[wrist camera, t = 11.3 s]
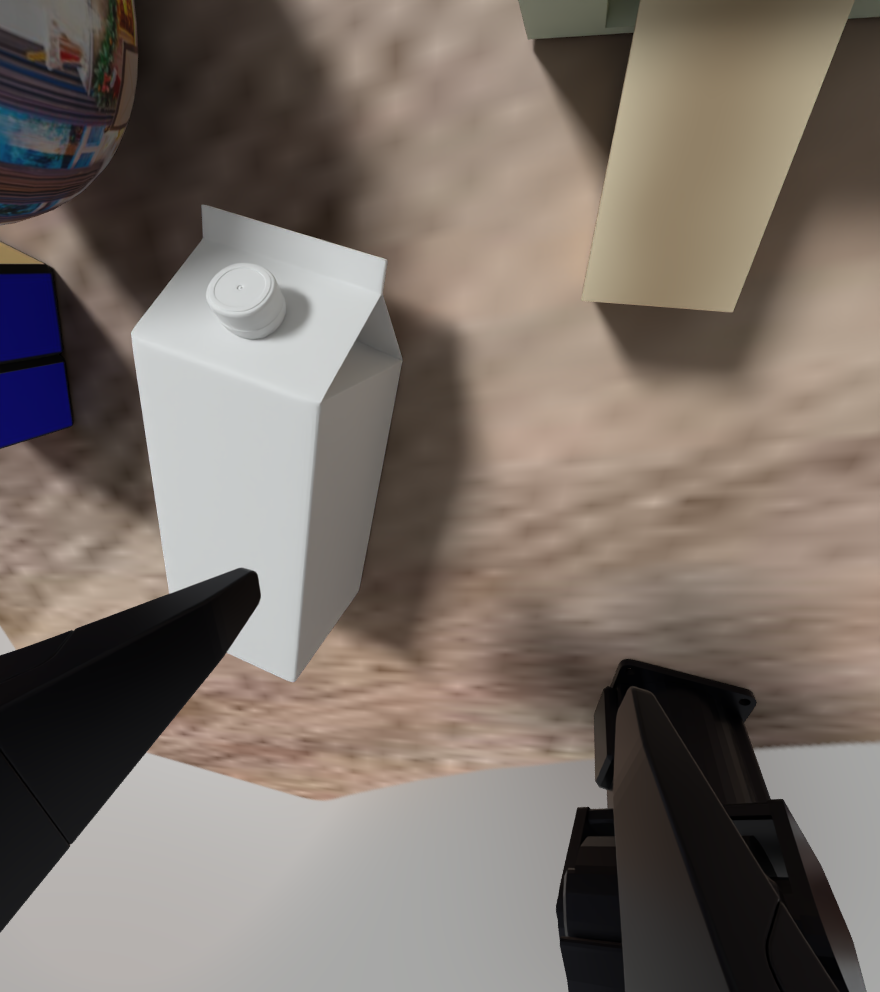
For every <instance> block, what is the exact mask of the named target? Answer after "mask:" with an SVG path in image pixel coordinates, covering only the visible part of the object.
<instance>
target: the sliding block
mask: <svg viewBox="0 0 880 992" xmlns="http://www.w3.org/2000/svg"><path fill="white" fill-rule="evenodd" d="M518 1H519V5H520V9H521V13H522V17H523V21H524V26H525V30H526V34H527V38H528V39H542V38H558V37H573V36H589V35H604V34H620V33H634V28H635V23H636V18H637V13H638V8H639V2H640V0H518ZM868 17H880V0H855V1H854V4H853V6H852V9H851V12H850V14H849V17H848V19H852V18H868Z"/></svg>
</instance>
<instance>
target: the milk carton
mask: <svg viewBox="0 0 880 992" xmlns="http://www.w3.org/2000/svg"><path fill="white" fill-rule="evenodd" d="M201 209H202V227H203V239H202V240H201V242H200V243H199V244H198V246H197V247H196V248H195V249H194V251H193V252H192V253H191V255H190V256H189V257H188V258H187V260H186V261H185V262H184V264H183V265H182V266H181V268H180V269H179V270H178V271H177V273H176V274H175V275H174V277H173V278H172V279H171V280H170V282H169V283H168V284H167V286H166V287H165V288H164V290H163V291H162V292H161V293H160V295H159V296H158V297H157V299H156V300H155V301H154V302H153V304H152V305H151V306H150V308H149V309H148V310H147V312H146V313H145V314H144V315H143V317H142V318H141V319H140V321H139V322H138V323H137V325H136V326H135V327H134V329H133V330H132V332H131V336H132V346H133V353H134V360H135V367H136V374H137V381H138V387H139V394H140V401H141V407H142V414H143V421H144V428H145V434H146V441H147V448H148V454H149V461H150V468H151V474H152V481H153V488H154V494H155V501H156V508H157V515H158V521H159V528H160V535H161V541H162V548H163V555H164V561H165V568H166V575H167V581H168V588H169V594H170V593H173V592H175V591H178V590H181V589H184V588H186V587H189V586H192V585H194V584H197V583H200V582H202V581H205V580H208V579H210V578H213V577H216V576H218V575H221V574H224V573H226V572H229V571H232V570H234V569H237V568H241V567H242V568H247V569H250V570H253V571H255V572H256V573H257V574H258V578H259V585H260V591H261V599H260V602H259V604H258V606H257V608H256V609H255V611H254V612H253V614H252V615H251V617H250V618H249V620H248V621H247V623H246V624H245V626H244V627H243V629H242V630H241V632H240V633H239V635H238V636H237V638H236V639H235V641H234V642H233V644H232V645H231V647H230V648H229V650H228V651H227V653H228V654H231V655H233V656H235V657H237V658H239V659H241V660H244V661H246V662H248V663H250V664H252V665H254V666H257V667H259V668H261V669H263V670H265V671H267V672H270V673H272V674H274V675H276V676H278V677H280V678H283V679H285V680H287V681H290V682H295V681H296V680H297V678H298V677H299V676H300V674H301V673H302V671H303V670H304V668H305V667H306V666H307V664H308V663H309V661H310V660H311V658H312V657H313V656H314V654H315V653H316V651H317V650H318V648H319V647H320V646H321V644H322V643H323V641H324V640H325V638H326V637H327V636H328V634H329V633H330V631H331V630H332V629H333V627H334V626H335V624H336V623H337V621H338V620H339V619H340V617H341V616H342V614H343V613H344V611H345V610H346V609H347V607H348V606H349V604H350V603H351V601H352V600H353V599H354V597H355V596H356V594H357V593H358V591H359V588H360V583H361V578H362V572H363V567H364V562H365V556H366V551H367V546H368V541H369V535H370V530H371V525H372V519H373V514H374V509H375V503H376V498H377V493H378V488H379V482H380V477H381V472H382V466H383V461H384V456H385V450H386V445H387V440H388V435H389V429H390V424H391V419H392V413H393V408H394V403H395V398H396V392H397V387H398V382H399V376H400V371H401V366H402V361H403V359H402V356H401V352H400V349H399V346H398V343H397V339H396V336H395V333H394V329H393V326H392V323H391V320H390V316H389V313H388V310H387V307H386V303H385V300H384V297H383V289H384V283H385V276H386V269H387V262H388V261H387V259H384V258H381V257H378V256H374V255H371V254H368V253H364V252H361V251H358V250H354V249H351V248H348V247H344V246H341V245H338V244H334V243H331V242H328V241H324V240H321V239H318V238H314V237H311V236H308V235H304V234H301V233H298V232H294V231H291V230H288V229H285V228H281V227H278V226H275V225H271V224H268V223H265V222H261V221H258V220H255V219H251V218H248V217H245V216H241V215H238V214H235V213H231V212H228V211H225V210H221V209H218V208H215V207H211V206H208V205H201Z"/></svg>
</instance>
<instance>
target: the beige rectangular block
mask: <svg viewBox="0 0 880 992" xmlns="http://www.w3.org/2000/svg"><path fill="white" fill-rule="evenodd" d="M854 1H855V0H640V2H639V8H638V13H637V18H636V23H635V28H634V33H633V38H632V43H631V48H630V53H629V58H628V63H627V68H626V73H625V78H624V83H623V89H622V94H621V99H620V104H619V109H618V114H617V119H616V124H615V129H614V134H613V139H612V144H611V149H610V154H609V159H608V164H607V170H606V175H605V180H604V185H603V190H602V195H601V200H600V205H599V210H598V215H597V220H596V225H595V230H594V235H593V240H592V246H591V251H590V256H589V261H588V266H587V271H586V276H585V281H584V287H583V293H582V299H581V301H591V302H604V303H617V304H630V305H643V306H656V307H669V308H682V309H694V310H707V311H720V312H733V310H734V308H735V305H736V303H737V300H738V298H739V295H740V293H741V290H742V287H743V285H744V282H745V280H746V277H747V275H748V272H749V270H750V267H751V264H752V262H753V259H754V257H755V254H756V252H757V249H758V247H759V244H760V241H761V239H762V236H763V234H764V231H765V229H766V226H767V224H768V221H769V218H770V216H771V213H772V211H773V208H774V206H775V203H776V201H777V198H778V195H779V193H780V190H781V188H782V185H783V183H784V180H785V178H786V175H787V173H788V170H789V167H790V165H791V162H792V160H793V157H794V155H795V152H796V150H797V147H798V144H799V142H800V139H801V137H802V134H803V132H804V129H805V127H806V124H807V121H808V119H809V116H810V114H811V111H812V109H813V106H814V104H815V101H816V98H817V96H818V93H819V91H820V88H821V86H822V83H823V81H824V78H825V75H826V73H827V70H828V68H829V65H830V63H831V60H832V58H833V55H834V52H835V50H836V47H837V45H838V42H839V40H840V37H841V35H842V32H843V29H844V27H845V24H846V22H847V19H848V17H849V14H850V12H851V9H852V6H853V4H854Z"/></svg>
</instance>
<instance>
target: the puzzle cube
mask: <svg viewBox="0 0 880 992" xmlns="http://www.w3.org/2000/svg"><path fill="white" fill-rule="evenodd" d="M62 351H63V345H62V337H61V330H60V323H59V316H58V308H57V301H56V294H55V286H54V279H53V272H52V270H51V269H50V268H49V267H48V266H47V265H46V264H44V263H42V262H40V261H38V260H36V259H34V258H32V257H30V256H28V255H26V254H24V253H22V252H20V251H18V250H16V249H14V248H12V247H10V246H8V245H6V244H4V243H2V242H0V449H1V448H4V447H8V446H11V445H14V444H17V443H20V442H24V441H27V440H30V439H33V438H37V437H40V436H43V435H46V434H49V433H53V432H56V431H59V430H62V429H66V428H69V427H71V426H72V425H73V418H72V411H71V404H70V396H69V389H68V382H67V375H66V367H65V360H64V358H63V357H61V356H60V355H59V354H60V353H61V352H62Z"/></svg>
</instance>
